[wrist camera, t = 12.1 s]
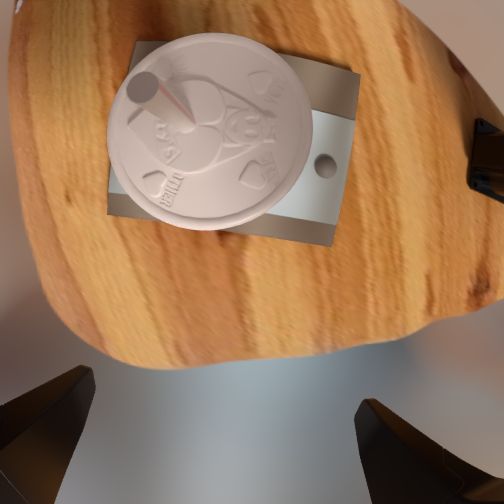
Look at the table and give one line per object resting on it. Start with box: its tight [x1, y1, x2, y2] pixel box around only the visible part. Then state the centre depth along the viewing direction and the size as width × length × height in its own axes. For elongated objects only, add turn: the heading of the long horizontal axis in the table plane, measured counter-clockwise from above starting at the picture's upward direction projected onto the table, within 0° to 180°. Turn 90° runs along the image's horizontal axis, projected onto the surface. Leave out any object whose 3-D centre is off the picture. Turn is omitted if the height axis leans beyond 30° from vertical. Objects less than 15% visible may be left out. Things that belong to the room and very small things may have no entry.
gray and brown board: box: [107, 41, 361, 247], centre depth 18 cm, size 15×12×1 cm
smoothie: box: [107, 33, 313, 230], centre depth 11 cm, size 6×6×14 cm
